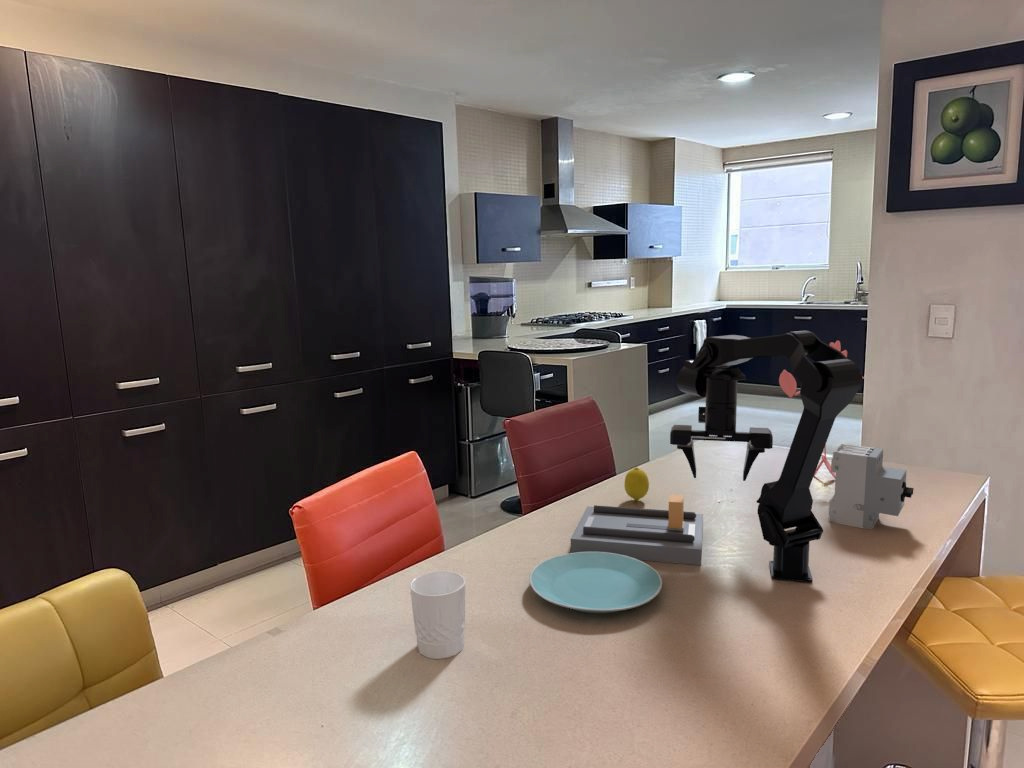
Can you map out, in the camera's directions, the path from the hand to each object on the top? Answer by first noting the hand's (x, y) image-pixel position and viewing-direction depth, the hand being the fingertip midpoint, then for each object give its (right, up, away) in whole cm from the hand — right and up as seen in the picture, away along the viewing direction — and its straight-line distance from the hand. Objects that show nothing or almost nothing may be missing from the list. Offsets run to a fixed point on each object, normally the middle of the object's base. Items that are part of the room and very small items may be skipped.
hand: (719, 478), depth 134 cm
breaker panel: (-15, -12, +2) cm, 20 cm away
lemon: (-12, -9, +24) cm, 28 cm away
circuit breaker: (+33, -10, +7) cm, 35 cm away
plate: (-27, -17, -19) cm, 37 cm away
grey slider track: (-15, -9, +1) cm, 18 cm away
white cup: (-51, -20, -34) cm, 65 cm away
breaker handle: (-9, -10, -1) cm, 13 cm away
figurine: (+35, -6, +30) cm, 46 cm away
